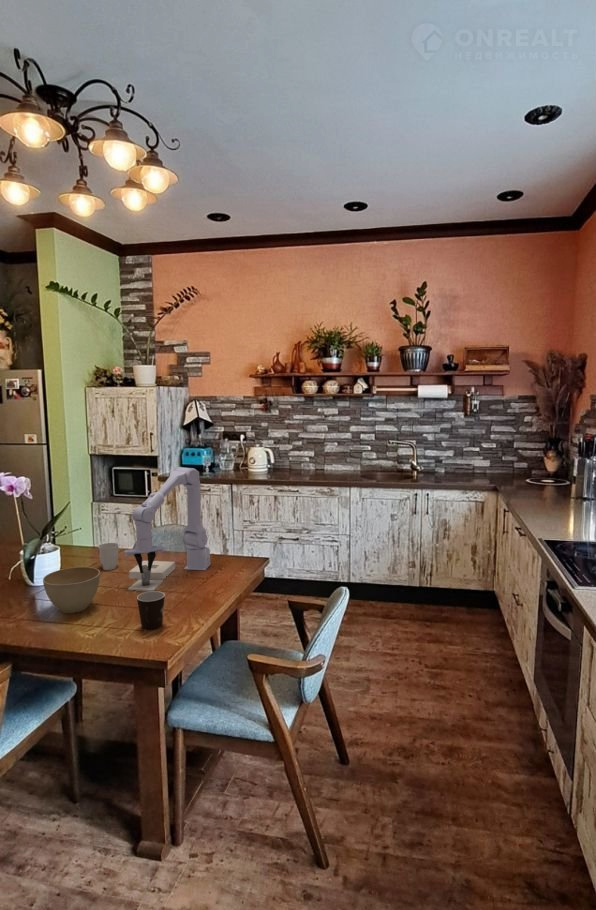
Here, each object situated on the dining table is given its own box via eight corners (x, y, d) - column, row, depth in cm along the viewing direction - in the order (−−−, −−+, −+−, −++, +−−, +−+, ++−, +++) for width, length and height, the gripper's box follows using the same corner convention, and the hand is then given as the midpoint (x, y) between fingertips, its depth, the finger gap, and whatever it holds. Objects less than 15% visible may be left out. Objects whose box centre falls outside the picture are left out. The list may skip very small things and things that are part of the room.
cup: (106, 564, 234) (105, 542, 233) (123, 565, 232) (122, 543, 231) (95, 570, 226) (94, 547, 225) (112, 572, 224) (111, 548, 223)
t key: (151, 587, 205) (151, 570, 204) (143, 588, 204) (143, 572, 203) (147, 580, 212) (147, 564, 212) (140, 581, 211) (139, 565, 210)
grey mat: (163, 582, 212) (163, 580, 212) (153, 591, 203) (153, 589, 203) (139, 580, 214) (139, 579, 214) (127, 590, 204) (127, 588, 204)
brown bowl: (76, 595, 199) (75, 563, 197) (112, 604, 190) (111, 571, 189) (33, 613, 183) (31, 579, 181) (69, 624, 175) (67, 588, 173)
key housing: (175, 568, 228) (175, 561, 228) (162, 580, 215) (162, 572, 214) (143, 567, 230) (143, 560, 230) (129, 578, 216) (129, 571, 216)
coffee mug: (149, 618, 179) (148, 589, 177) (171, 622, 175) (170, 593, 174) (125, 633, 168) (124, 602, 167) (148, 638, 165) (147, 606, 164)
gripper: (161, 532, 213) (162, 566, 214) (122, 537, 206) (124, 571, 208) (164, 537, 206) (166, 571, 208) (125, 541, 200) (127, 577, 202)
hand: (145, 571), depth 208 cm, fingers closed on t key, 2 cm apart
